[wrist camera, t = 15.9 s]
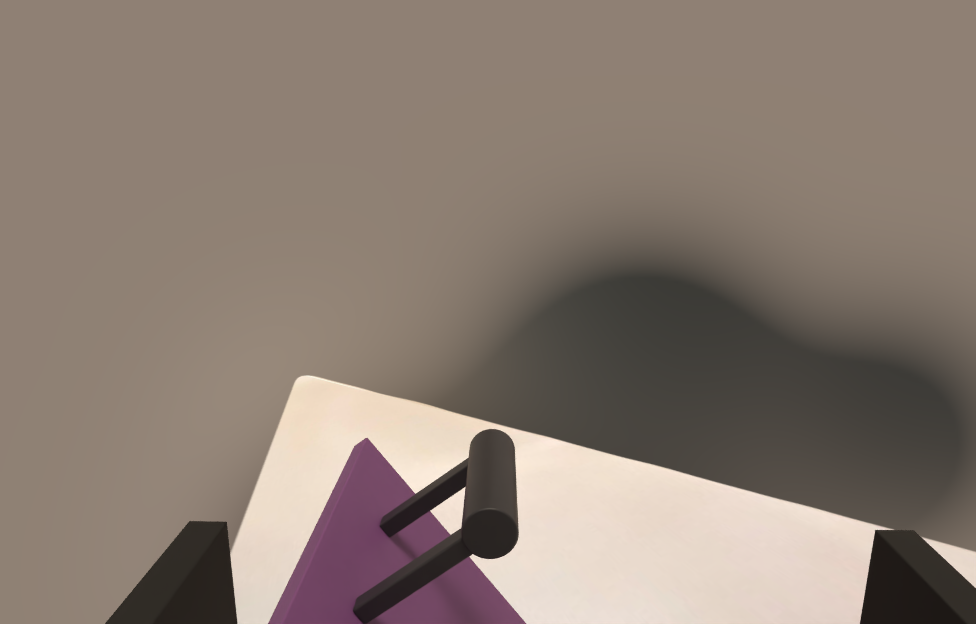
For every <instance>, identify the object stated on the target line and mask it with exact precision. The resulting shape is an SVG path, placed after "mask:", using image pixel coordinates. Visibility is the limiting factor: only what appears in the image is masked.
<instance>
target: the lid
mask: <svg viewBox="0 0 976 624" xmlns="http://www.w3.org/2000/svg"><path fill="white" fill-rule="evenodd" d="M464 487H466V489H465V499H464V509H463V519H462V528H461V529H459V530H458V531H456V532H455V533H453V534H452V535H450V534H449V533H448V532H447V530H446V529H445V528H444V527H443V526H442V525H441V523H440V522H439V521H438V520H437V519H436V518H435V516H434V515H433V514H432V513H431V512H430V510H432V509H433V508H435V507H436V506H438V505H439V504H441V503H442V502H443V501H445V500H446V499H448V498H449V497H451V496H452V495H454V494H455V493H457V492H458V491H460V490H461V489H463V488H464ZM518 535H519V531H518V510H517V488H516V466H515V447H514V443H513V441H512V439H511V438H510V437H509V436H508V435H507V434H506V433H504V432H502V431H500V430H496V429H488V430H484V431H482V432H480V433H478V434H477V435H476V436H475V437H474V438H473V440H472V442H471V444H470V450H469V458H467V459H466V460H464V461H463V462H462V463H460V464H459V465H457V466H456V467H454V468H453V469H451V470H450V471H448V472H447V473H446V474H444V475H443V476H441V477H440V478H438V479H437V480H435V481H434V482H432V483H431V484H430V485H428V486H427V487H425V488H424V489H422V490H421V491H419V492H418V493H416V494H415V493H414V492H413V491H412V490H411V488H410V487H409V486H408V485H407V484H406V482H405V481H404V480H403V479H402V478H401V477H400V475H399V474H398V473H397V472H396V471H395V470H394V468H393V467H392V466H391V465H390V464H389V463H388V461H387V460H386V459H385V458H384V457H383V456H382V454H381V453H380V452H379V451H378V450H377V449H376V447H375V446H374V445H373V444H372V443H371V442H370V440H369V439H368V438H365V439H364V440H362V441H361V442H360V443H358V444H357V445H355V446H354V448H353V450H352V452H351V454H350V456H349V459H348V461H347V463H346V465H345V467H344V469H343V471H342V473H341V475H340V477H339V479H338V481H337V483H336V485H335V487H334V489H333V491H332V494H331V496H330V498H329V500H328V502H327V504H326V506H325V508H324V510H323V512H322V514H321V516H320V518H319V520H318V522H317V524H316V526H315V528H314V531H313V533H312V535H311V537H310V539H309V541H308V543H307V545H306V547H305V549H304V551H303V553H302V555H301V557H300V559H299V561H298V563H297V565H296V568H295V570H294V572H293V574H292V576H291V578H290V580H289V582H288V584H287V586H286V588H285V590H284V592H283V594H282V596H281V598H280V600H279V602H278V605H277V607H276V609H275V611H274V613H273V615H272V617H271V619H270V621H269V623H268V624H526V623H525V622H524V620H523V619H522V618H521V617H520V616H519V615H518V613H517V612H516V611H515V610H514V609H513V608H512V606H511V605H510V604H509V603H508V602H507V601H506V599H505V598H504V597H503V596H502V595H501V594H500V592H499V591H498V590H497V589H496V588H495V587H494V585H493V584H492V583H491V582H490V581H489V580H488V578H487V577H486V576H485V575H484V574H483V573H482V571H481V570H480V569H479V568H478V567H477V566H476V564H475V563H474V562H473V561H472V560H471V558H470V557H469V556H471V555H472V554H474V555H476V556H478V557H481V558H485V559H495V558H500V557H502V556H504V555H506V554H508V553H509V552H510V551H511V550H512V549H513V548H514V546H515V545H516V543H517V540H518Z"/></svg>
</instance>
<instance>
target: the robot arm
mask: <svg viewBox="0 0 976 624" xmlns="http://www.w3.org/2000/svg"><path fill="white" fill-rule="evenodd" d="M105 624H237V616H236V606H235V596H234V587H233V577H232V568H231V558H230V549H229V539H228V530H227V522H203V521H190V522H189V523H188V524H187V525H186V526H185V527H184V529H183V530H182V531H181V532H180V533H179V535H178V536H177V537H176V538H175V540H174V541H173V542H172V543H171V544H170V546H169V547H168V548H167V549H166V550H165V552H164V553H163V554H162V555H161V557H160V558H159V559H158V560H157V562H156V563H155V564H154V565H153V566H152V568H151V569H150V570H149V571H148V573H146V575H145V576H144V577H143V578H142V580H141V581H140V582H139V583H138V584H137V586H136V587H135V588H134V589H133V591H132V592H131V593H130V594H129V595H128V597H127V598H126V599H125V600H124V601H123V603H122V604H121V605H120V606H119V608H118V609H117V610H116V611H115V612H114V614H113V615H112V616H111V617H110V618H109V620H108V621H107V622H106V623H105ZM860 624H976V588H975V587H974V586H973V585H972V584H971V583H969V582H968V581H967V580H966V579H965V578H964V577H963V576H962V575H961V574H960V573H959V572H958V571H957V570H956V569H955V568H953V567H952V566H951V565H950V564H949V563H948V562H947V561H946V560H945V559H944V558H943V557H942V556H941V555H940V554H938V553H937V552H936V551H935V550H934V549H933V548H932V547H931V546H930V545H929V544H928V543H927V542H926V541H925V540H923V539H922V538H921V537H920V536H919V535H918V534H917V533H916V532H915V531H913V530H912V531H911V530H910V531H909V530H908V531H907V530H905V531H904V530H875V535H874V541H873V547H872V553H871V560H870V566H869V572H868V578H867V584H866V590H865V596H864V602H863V608H862V614H861V620H860Z"/></svg>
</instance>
